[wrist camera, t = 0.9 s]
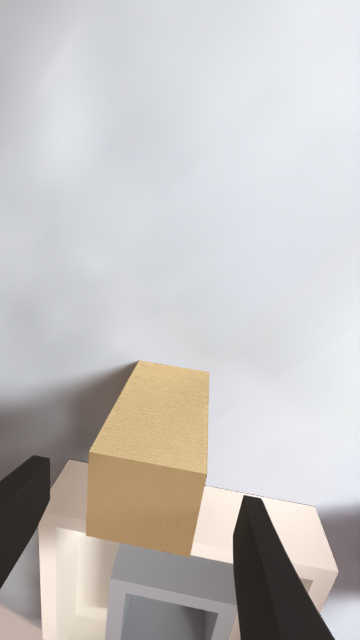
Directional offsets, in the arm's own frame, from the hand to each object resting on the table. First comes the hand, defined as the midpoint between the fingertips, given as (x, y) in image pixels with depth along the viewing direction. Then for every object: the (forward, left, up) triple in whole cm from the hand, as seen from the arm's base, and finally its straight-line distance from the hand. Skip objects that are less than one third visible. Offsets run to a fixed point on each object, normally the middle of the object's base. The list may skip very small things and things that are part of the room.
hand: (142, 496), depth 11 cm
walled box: (-2, +14, -7) cm, 16 cm away
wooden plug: (0, 0, -7) cm, 7 cm away
